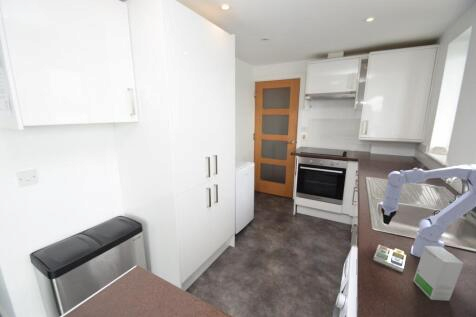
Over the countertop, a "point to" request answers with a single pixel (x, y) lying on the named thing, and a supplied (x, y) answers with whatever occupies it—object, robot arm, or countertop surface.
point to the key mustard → (398, 253)
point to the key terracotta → (384, 248)
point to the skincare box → (437, 273)
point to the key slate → (397, 260)
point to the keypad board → (389, 260)
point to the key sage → (382, 254)
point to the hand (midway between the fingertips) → (386, 223)
